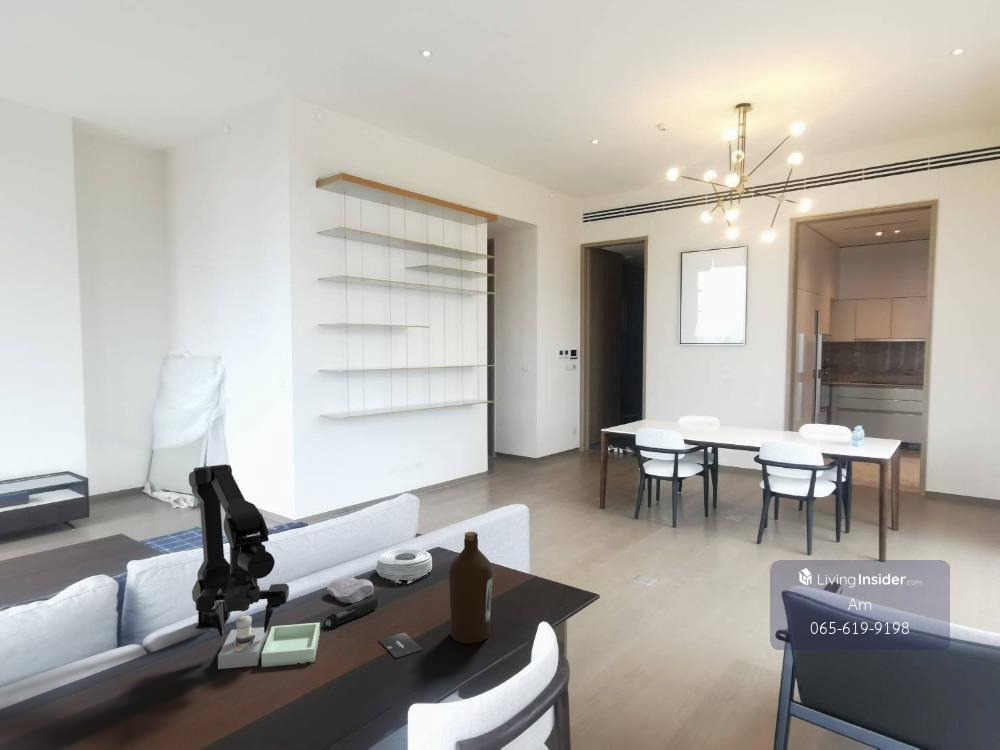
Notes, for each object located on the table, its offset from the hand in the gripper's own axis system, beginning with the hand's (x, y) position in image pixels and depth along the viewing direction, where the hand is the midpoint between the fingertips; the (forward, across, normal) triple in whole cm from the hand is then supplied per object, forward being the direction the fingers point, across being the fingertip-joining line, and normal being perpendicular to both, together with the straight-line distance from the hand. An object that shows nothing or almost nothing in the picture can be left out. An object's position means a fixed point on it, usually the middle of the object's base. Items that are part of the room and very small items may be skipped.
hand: (244, 633), depth 132 cm
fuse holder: (+4, 0, 0) cm, 4 cm away
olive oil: (+5, +52, -1) cm, 52 cm away
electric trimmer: (+5, +23, +14) cm, 28 cm away
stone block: (+5, +22, +29) cm, 36 cm away
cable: (+5, +38, +43) cm, 58 cm away
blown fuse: (+4, 0, 0) cm, 4 cm away
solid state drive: (+5, +35, -3) cm, 35 cm away
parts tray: (+4, +10, 0) cm, 11 cm away
